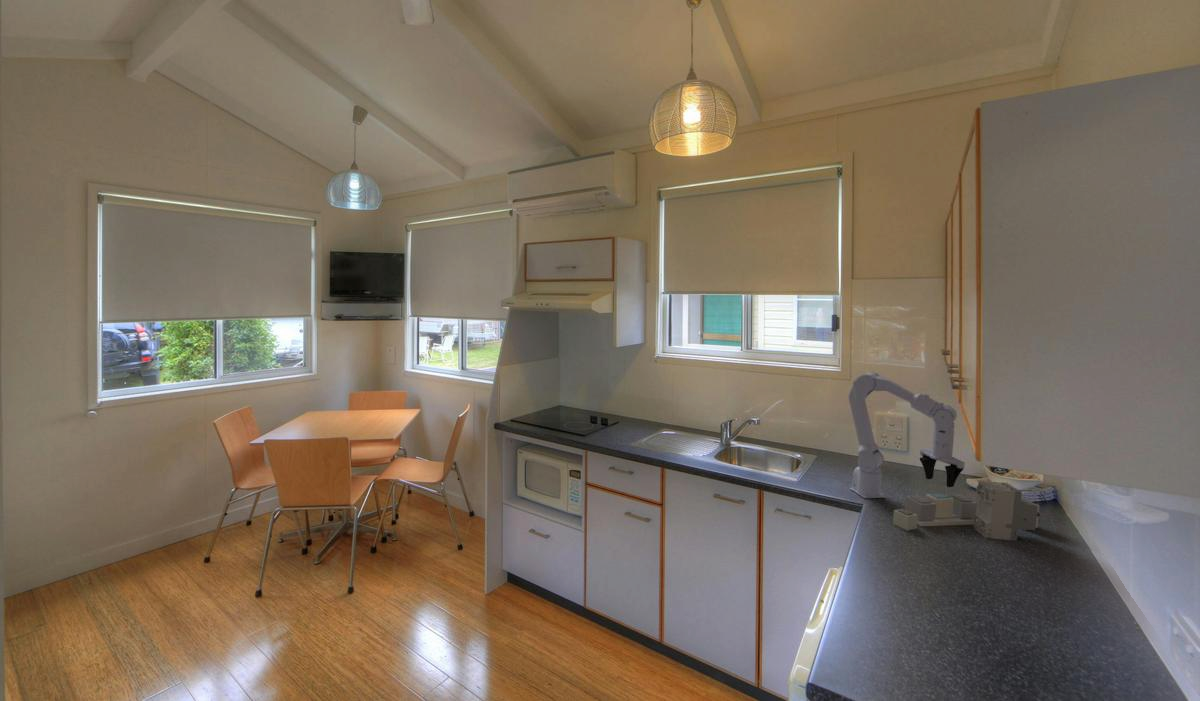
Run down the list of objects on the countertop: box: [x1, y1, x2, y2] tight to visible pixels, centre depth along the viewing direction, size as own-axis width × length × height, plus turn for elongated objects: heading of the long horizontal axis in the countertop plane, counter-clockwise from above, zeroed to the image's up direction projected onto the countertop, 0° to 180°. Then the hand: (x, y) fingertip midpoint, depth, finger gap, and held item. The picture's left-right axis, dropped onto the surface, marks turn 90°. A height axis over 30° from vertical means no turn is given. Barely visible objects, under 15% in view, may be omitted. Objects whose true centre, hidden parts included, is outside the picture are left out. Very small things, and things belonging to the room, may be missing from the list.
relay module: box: [925, 493, 954, 518], centre depth 168 cm, size 4×6×6 cm
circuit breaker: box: [972, 480, 1040, 542], centre depth 157 cm, size 8×14×15 cm, turn 78°
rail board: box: [904, 494, 978, 527], centre depth 168 cm, size 9×20×7 cm, turn 96°
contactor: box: [892, 508, 918, 531], centre depth 163 cm, size 5×4×5 cm
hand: (939, 482), depth 174 cm, fingers open, 7 cm apart
